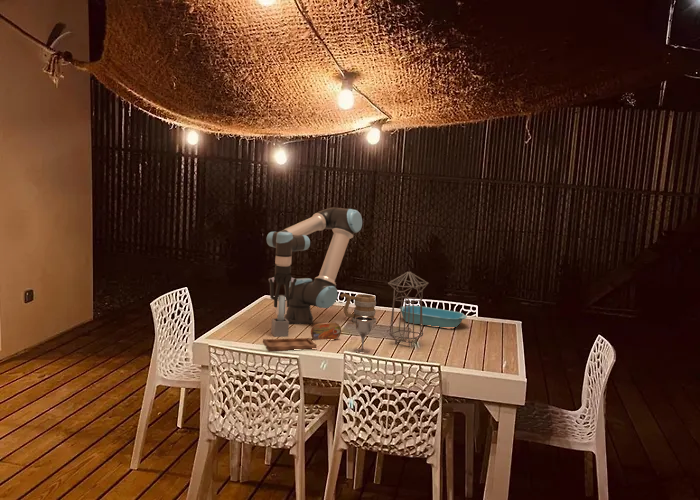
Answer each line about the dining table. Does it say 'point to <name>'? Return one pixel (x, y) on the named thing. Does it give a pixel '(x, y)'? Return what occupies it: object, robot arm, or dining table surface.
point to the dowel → (281, 307)
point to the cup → (280, 328)
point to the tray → (288, 344)
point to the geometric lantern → (409, 305)
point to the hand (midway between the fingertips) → (281, 313)
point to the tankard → (360, 306)
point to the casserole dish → (433, 316)
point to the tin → (325, 331)
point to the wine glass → (363, 330)
